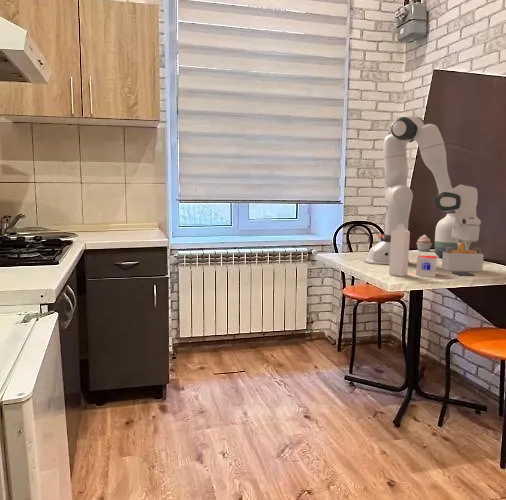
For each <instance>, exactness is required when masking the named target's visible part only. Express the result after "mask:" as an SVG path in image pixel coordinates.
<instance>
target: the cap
mask: <svg viewBox="0 0 506 500" xmlns="http://www.w3.org/2000/svg"><path fill="white" fill-rule="evenodd" d="M465 244H466V243H458V250H450V253H463V254H468V253H477V252H478V251H477V250H474V249H469V250H468V251H466V250H464V246H465Z"/></svg>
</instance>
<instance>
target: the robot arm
mask: <svg viewBox="0 0 506 500" xmlns="http://www.w3.org/2000/svg"><path fill="white" fill-rule="evenodd" d="M439 129H440V128H438V126H437V125H435V124H433V123H426V122H425V120H424V119H422V118H421V117H418V116H409V115H408V116H400V117H398V118H396V119H394V121H393V122H392V123H391V127H390V134H389V135H387V136H386V137H385V138H384V139H383V147H382V150H383V151H382V152H383V153H382V155H383V165H384V166H383V167H384V199H385V202H386V203H387V204H388V205H387V211H386V215H385V223H384V233H383V234H381V233H380V234H378V235H377V237H378V238H379V239H380V241H379V242H377V243H375V244H374V245H373V246H372V247H371V248H370V249H369V251H368V254H367V255H368V256H367V257H364V258H363V262H365V263H368V264H372V265H374V264H375V265H389V263H390V245H391V231H393V230H395V229H397V228H398V225H399V224H404V228H405V229H407V230H408V229H409V219H410V213H411V207H412V203H413V198H414V194H413V191H412V190H411V188H410V187H409V186H408V180H407V179H408V173H409V169H408V168H409V167H408V154H407V145H408V143H413V142H414V141H415V142H416V144H417V145H418V146H417V147H418V150H419V154H420V157H421V160H422V161H423V163H424V165H425V166H426V167H427V168H428V169H429V170H430V171H431V173H432V175H433V177H434V180H435V182H436V187H437V190H438V194H437V195H436V196H435V198H434V205H435V207H436V208H437V210H439V211H440V212H444V213H451V212H455V214H456V215H455V222H454V223H453V226H452V233H451V235H452V237H453V238H457V243H462V241H463V240H465V243H466V244H465V246H464V250H466V251H468V250H470V246H471V244H472V243H477V242H479V241H478V240H479V239H480V238H479V237H480V226H481V224H482V221H481V219H480V218H479V217H478V216H477V206H478V198H479V197H478V196H479V195H478V188H477V187H475V186H474V185H472V184H471V185H470V184H465V183H460V184H458V185H457V186H455V187H453V185H452V181H451V179H450V176H449V172H448V163H447V161H448V160H447V152H446V146H445V142H444V139H443V137H442V134H441V131H440V130H439ZM408 231H409V230H408ZM408 264H410V259H409V258H408Z"/></svg>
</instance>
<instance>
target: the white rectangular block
mask: <svg viewBox="0 0 506 500" xmlns="http://www.w3.org/2000/svg"><path fill="white" fill-rule="evenodd" d="M450 250H454V248H452V247H445V252H443V257H441V258H442V260H441V269H442V270H445V271H447V272H483V269H484V268H483V266H484V265H483V264H484V253H482V247H472V250H477V251H478V252H477V253H468V254H463V253H450Z"/></svg>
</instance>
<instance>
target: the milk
mask: <svg viewBox="0 0 506 500" xmlns="http://www.w3.org/2000/svg"><path fill="white" fill-rule="evenodd" d="M410 235H411V232H410V231H409V230H407V229H405V228H404V224H399V225H398V228H397V229H395V230H393V231H391V245H390V263H389V264H388V266H389V267H388V275H389V276H396V277H404V276H407V275H408V270H409V269H408V268H409V263H408V259H409V257H410V255H409V253H410V237H411V236H410Z"/></svg>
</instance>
